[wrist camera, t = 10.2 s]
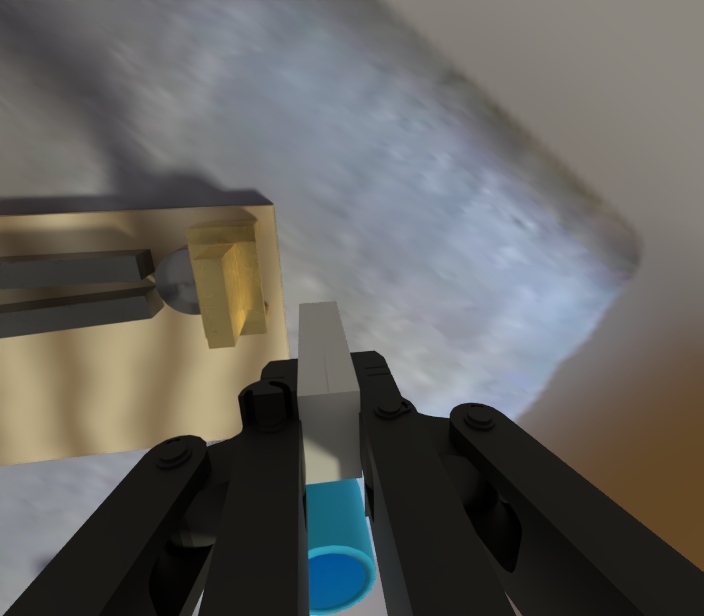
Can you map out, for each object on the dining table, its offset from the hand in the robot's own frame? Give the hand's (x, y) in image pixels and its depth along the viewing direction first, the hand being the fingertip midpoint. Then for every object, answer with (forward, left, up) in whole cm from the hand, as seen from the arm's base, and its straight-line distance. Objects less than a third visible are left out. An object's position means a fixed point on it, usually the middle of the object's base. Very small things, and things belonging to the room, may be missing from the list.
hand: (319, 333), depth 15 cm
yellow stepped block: (-5, 0, -12) cm, 13 cm away
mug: (0, -26, -14) cm, 30 cm away
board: (-19, -5, -14) cm, 24 cm away
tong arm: (-22, -2, -12) cm, 25 cm away
